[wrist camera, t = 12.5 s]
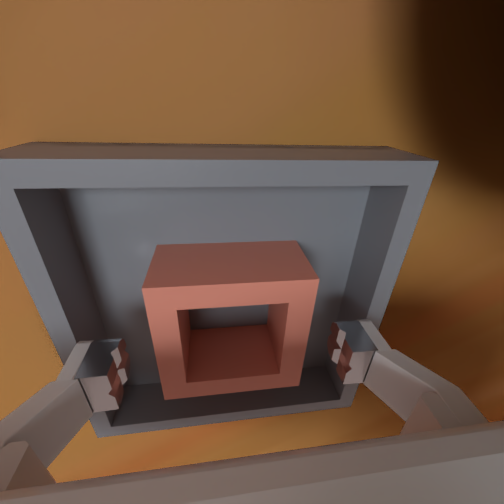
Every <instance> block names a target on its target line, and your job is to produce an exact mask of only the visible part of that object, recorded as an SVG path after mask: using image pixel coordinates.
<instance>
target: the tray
mask: <svg viewBox="0 0 504 504" xmlns="http://www.w3.org/2000/svg"><path fill="white" fill-rule="evenodd" d="M438 163H439V161H438V160H434V159H430V158H427V157H423V156H420V155H416V154H413V153H409V152H406V151H402V150H398V149H395V148H391V147H388V146H322V145H243V144H164V143H85V142H29V143H25V144H21V145H17V146H13V147H10V148H6V149H2V150H0V231H1V233H2V235H3V237H4V239H5V241H6V244H7V246H8V248H9V250H10V252H11V254H12V256H13V258H14V261H15V263H16V265H17V267H18V269H19V271H20V273H21V275H22V278H23V280H24V282H25V284H26V286H27V288H28V290H29V292H30V295H31V297H32V299H33V301H34V303H35V305H36V307H37V309H38V312H39V314H40V316H41V318H42V320H43V322H44V324H45V326H46V329H47V331H48V333H49V335H50V337H51V339H52V341H53V343H54V346H55V348H56V350H57V352H58V354H59V356H60V358H61V360H62V363H63V365H65V363H66V361H67V359H68V357H69V355H70V354H71V352H72V350H73V348H74V346H75V345H76V344H77V343H78V342H79V341H90V340H104V339H124V340H125V343H126V348H125V351H126V352H127V353H128V354H129V357H130V373H129V377H128V380H127V381H126V382H125V383H124V384H123V388H124V394H123V397H122V401H121V404H120V408H119V409H116V410H109V411H101V412H94V413H93V415H92V416H91V417H90V418H89V420H90V422H91V424H92V426H93V428H94V431H95V433H96V435H97V437H98V438H99V437H108V436H116V435H124V434H132V433H140V432H148V431H156V430H164V429H172V428H180V427H188V426H197V425H205V424H213V423H221V422H229V421H237V420H245V419H253V418H261V417H269V416H277V415H286V414H294V413H302V412H310V411H318V410H326V409H334V408H342V407H350V406H351V404H352V402H353V399H354V396H355V393H356V391H357V388H358V385H359V383H354V384H343V383H342V381H341V379H340V377H339V375H338V373H337V371H336V367H337V364H336V363H335V362H334V361H332V360H331V358H330V355H329V352H328V347H327V341H328V336H330V335H331V334H332V331H331V330H330V327H331V324H332V323H333V322H337V321H349V320H360V319H369V320H371V322H372V323H373V324H374V326H375V327H376V328H377V330H378V329H379V327H380V324H381V321H382V318H383V315H384V313H385V310H386V307H387V304H388V302H389V299H390V296H391V293H392V290H393V288H394V285H395V282H396V279H397V277H398V274H399V271H400V268H401V265H402V263H403V260H404V257H405V254H406V252H407V249H408V246H409V243H410V240H411V238H412V235H413V232H414V229H415V227H416V224H417V221H418V218H419V215H420V213H421V210H422V207H423V204H424V201H425V199H426V196H427V193H428V190H429V188H430V185H431V182H432V179H433V176H434V174H435V171H436V168H437V165H438ZM291 240H296V241H297V243H298V244H299V246H300V248H301V249H302V251H303V253H304V254H305V256H306V258H307V259H308V261H309V263H310V264H311V266H312V268H313V269H314V271H315V273H316V274H317V276H318V277H319V284H318V290H317V295H316V300H315V305H314V310H313V315H312V321H311V326H310V331H309V336H308V341H307V347H306V352H305V357H304V362H303V367H302V372H301V378H300V383H299V386H291V387H282V388H272V389H263V390H254V391H244V392H235V393H226V394H216V395H207V396H198V397H188V398H179V399H170V400H164V395H163V390H162V385H161V380H160V375H159V371H158V366H157V361H156V356H155V351H154V346H153V341H152V337H151V332H150V327H149V322H148V317H147V312H146V307H145V303H144V298H143V293H142V286H143V283H144V280H145V277H146V275H147V272H148V269H149V266H150V263H151V260H152V257H153V255H154V252H155V249H156V246H157V245H164V244H196V243H227V242H259V241H291ZM268 308H269V304H265V305H249V306H233V307H218V308H202V309H188V310H189V320H190V330H197V329H211V328H224V327H238V326H251V325H265V324H267V319H268Z"/></svg>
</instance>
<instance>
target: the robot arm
mask: <svg viewBox="0 0 504 504" xmlns="http://www.w3.org/2000/svg"><path fill="white" fill-rule="evenodd" d="M330 330H331V331H332V334H331V335H330V336H328V341H327V347H328V352H329V355H330V358H331V360H332V361H334V362H335V363H336V364H337V367H336V371H337V373H338V375H339V377H340V379H341V381H342V383H343V384H354V383H364V385H365V386H366V387H368V388H369V389H370V390H371V391H372V392H373V393H374V394H375V395H376V396H378V397H379V398H380V399H381V400H382V401H383V402H384V403H385V404H387V405H388V406H389V407H390V408H391V409H392V410H393V411H394V412H395V413H397V414H398V415H399V416H400V417H401V418H402V419H403V420H404V421H406V423H405V425H404V427H403V428H402V430H401V432H400V435H397V436H389V437H382V438H375V439H368V440H361V441H354V442H347V443H340V444H333V445H325V446H318V447H311V448H304V449H297V450H290V451H282V452H275V453H268V454H261V455H254V456H247V457H240V458H233V459H226V460H219V461H212V462H204V463H197V464H190V465H183V466H176V467H169V468H162V469H155V470H148V471H141V472H134V473H126V474H119V475H112V476H105V477H98V478H91V479H84V480H77V481H70V482H63V483H56V481H55V479H54V478H53V477H52V475H51V474H50V473H49V471H48V470H47V469H46V468H47V467H48V466H49V465H50V464H51V463H52V461H53V460H54V459H55V458H56V457H57V456H58V455H59V453H60V452H61V451H62V450H63V449H64V448H65V446H66V445H67V444H68V443H69V442H70V441H71V439H72V438H73V437H74V436H75V435H76V434H77V432H78V431H79V430H80V429H81V428H82V427H83V425H84V424H85V423H86V422H87V421H88V420H89V418H90V417H91V416H92V415H93V413H94V412H101V411H109V410H116V409H119V408H120V404H121V401H122V397H123V394H124V388H123V384H124V383H125V382H126V381H127V380H128V377H129V373H130V357H129V354H128V353H127V352H126V351H125V348H126V343H125V340H124V339H104V340H90V341H79V342H78V343H77V344H76V345H75V346H74V348H73V350H72V352H71V354H70V355H69V357H68V359H67V361H66V363H65V365H64V366H63V368H62V370H61V372H60V374H59V376H58V377H57V379H56V381H54V382H50V383H49V384H47V385H46V386H45V387H43V388H42V389H41V390H40V391H38V392H37V393H36V394H34V395H33V396H32V397H31V398H29V399H28V400H27V401H25V402H24V403H23V404H22V405H20V406H19V407H18V408H17V409H15V410H14V411H13V412H11V413H10V414H9V415H8V416H6V417H5V418H4V419H2V420H1V421H0V504H504V420H503V421H496V422H488V420H487V419H486V418H485V417H484V416H483V415H482V413H481V412H480V411H479V410H478V409H477V408H476V406H475V405H474V404H473V403H472V402H471V401H470V399H469V398H468V397H467V396H466V395H465V394H464V392H463V391H462V390H461V389H460V388H459V387H457V386H456V385H454V384H452V383H451V382H449V381H447V380H446V379H444V378H442V377H441V376H439V375H437V374H436V373H434V372H432V371H431V370H429V369H427V368H426V367H424V366H422V365H421V364H419V363H417V362H416V361H414V360H412V359H411V358H409V357H407V356H406V355H404V354H402V353H401V352H399V351H398V350H396V349H391V348H390V346H389V345H388V343H387V342H386V341H385V339H384V338H383V337H382V335H381V334H380V333H379V331H378V330H377V328H376V327H375V326H374V324H373V323H372V322H371V320H369V319H360V320H349V321H337V322H333V323H332V324H331V327H330Z"/></svg>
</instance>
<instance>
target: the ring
mask: <svg viewBox="0 0 504 504" xmlns="http://www.w3.org/2000/svg"><path fill="white" fill-rule="evenodd" d="M318 284H319V277H318V276H317V274H316V273H315V271H314V269H313V268H312V266H311V264H310V263H309V261H308V259H307V258H306V256H305V254H304V253H303V251H302V249H301V248H300V246H299V244H298V243H297V241H296V240H291V241H259V242H227V243H196V244H164V245H157V246H156V249H155V252H154V255H153V257H152V260H151V263H150V266H149V269H148V272H147V275H146V277H145V280H144V283H143V286H142V293H143V298H144V303H145V307H146V312H147V317H148V322H149V327H150V332H151V337H152V341H153V346H154V351H155V356H156V361H157V366H158V371H159V375H160V380H161V385H162V390H163V395H164V400H170V399H179V398H188V397H198V396H207V395H216V394H226V393H235V392H244V391H254V390H263V389H272V388H282V387H291V386H299V383H300V378H301V372H302V367H303V362H304V357H305V352H306V347H307V341H308V336H309V331H310V326H311V321H312V315H313V310H314V305H315V300H316V295H317V290H318ZM265 304H269V308H268V319H267V324H265V325H251V326H238V327H224V328H211V329H197V330H190V320H189V310H188V309H202V308H218V307H233V306H249V305H265Z"/></svg>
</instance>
